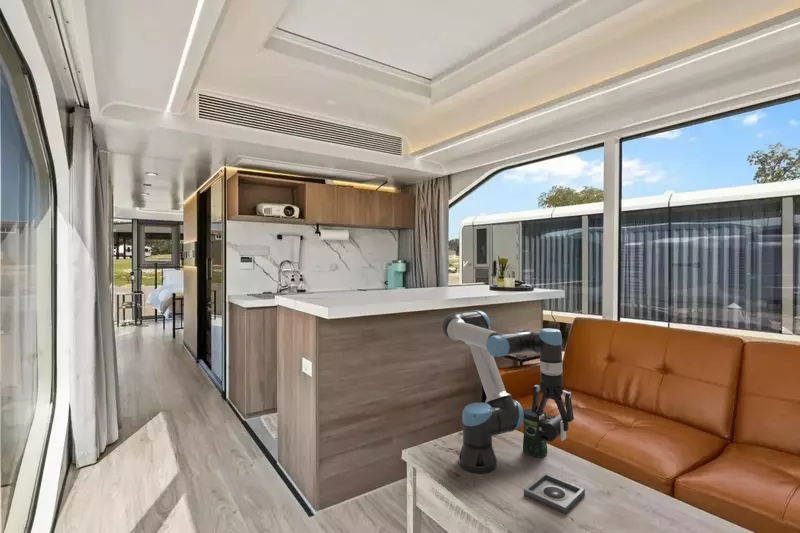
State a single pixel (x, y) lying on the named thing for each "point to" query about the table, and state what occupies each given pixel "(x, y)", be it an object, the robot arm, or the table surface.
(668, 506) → the table surface
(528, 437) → the coffee jar
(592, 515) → the table surface
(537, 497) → the grey square tray
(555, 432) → the end cap
